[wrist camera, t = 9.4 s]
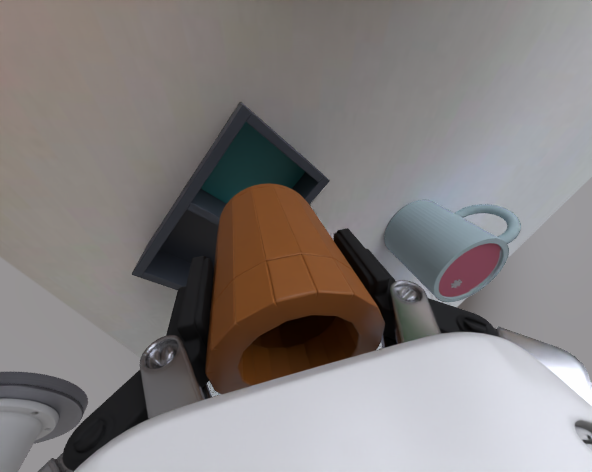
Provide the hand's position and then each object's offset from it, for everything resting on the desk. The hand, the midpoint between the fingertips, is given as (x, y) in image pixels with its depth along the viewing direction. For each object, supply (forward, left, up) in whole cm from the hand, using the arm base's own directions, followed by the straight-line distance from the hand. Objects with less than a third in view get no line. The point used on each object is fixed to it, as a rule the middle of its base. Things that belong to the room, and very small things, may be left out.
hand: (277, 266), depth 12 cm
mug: (+24, +10, -15) cm, 30 cm away
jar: (0, 0, -4) cm, 4 cm away
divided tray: (0, -4, -15) cm, 16 cm away
